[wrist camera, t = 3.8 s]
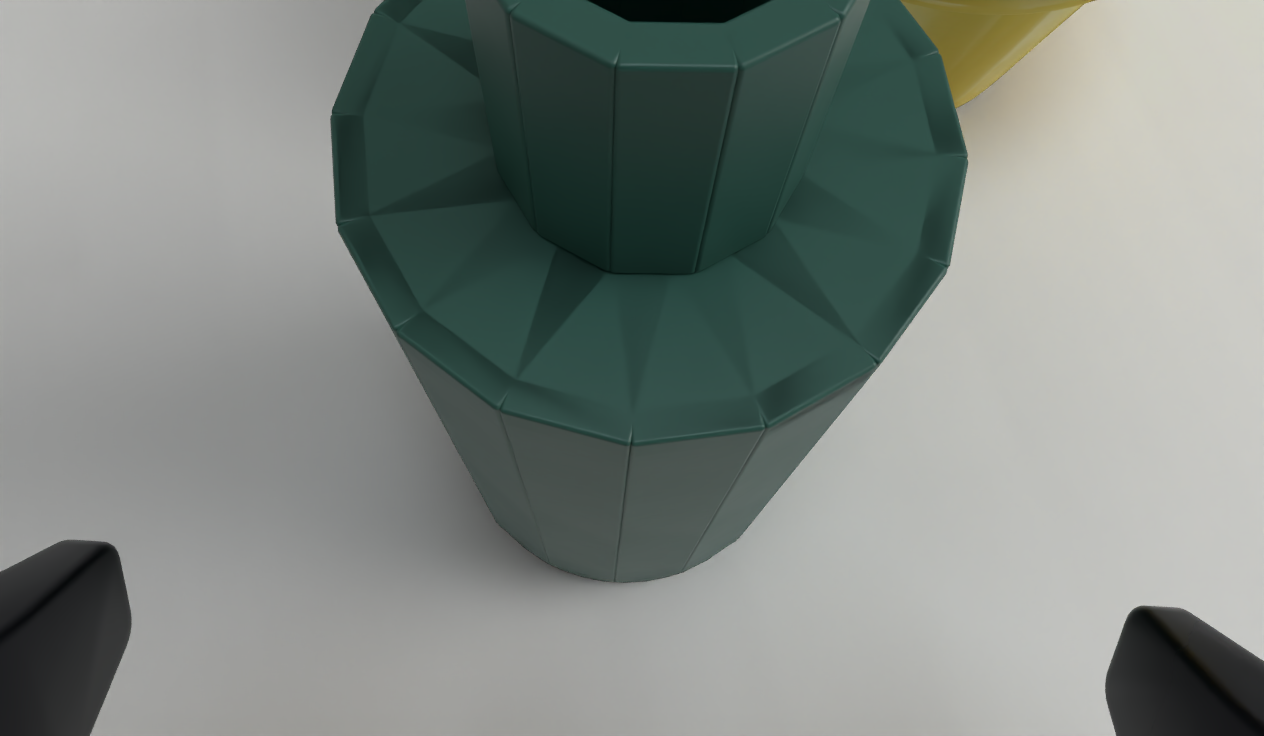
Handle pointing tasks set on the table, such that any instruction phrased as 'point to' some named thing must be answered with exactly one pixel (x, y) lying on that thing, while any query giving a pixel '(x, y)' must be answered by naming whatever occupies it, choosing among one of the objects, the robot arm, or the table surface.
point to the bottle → (644, 245)
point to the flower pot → (986, 36)
